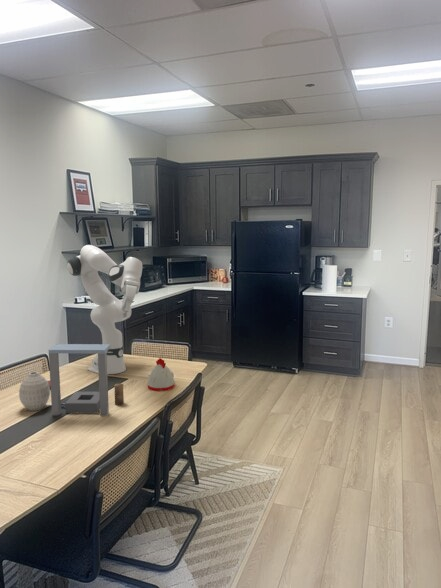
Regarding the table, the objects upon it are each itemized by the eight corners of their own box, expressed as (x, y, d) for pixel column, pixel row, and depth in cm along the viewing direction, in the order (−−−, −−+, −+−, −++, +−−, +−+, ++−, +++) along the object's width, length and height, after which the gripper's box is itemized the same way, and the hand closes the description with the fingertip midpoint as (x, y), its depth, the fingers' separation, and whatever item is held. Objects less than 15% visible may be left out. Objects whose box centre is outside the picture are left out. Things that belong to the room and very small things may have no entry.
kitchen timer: (156, 393, 216) (155, 364, 213) (142, 385, 226) (142, 357, 224) (179, 387, 224) (179, 359, 222) (165, 379, 235) (164, 353, 233)
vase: (21, 404, 200) (18, 370, 198) (50, 401, 205) (49, 367, 202) (19, 415, 189) (16, 379, 186) (50, 411, 193) (48, 375, 191)
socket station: (65, 400, 206) (62, 340, 201) (115, 400, 206) (113, 340, 201) (52, 415, 189) (48, 349, 185) (107, 415, 189) (104, 350, 185)
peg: (113, 404, 202) (112, 385, 200) (118, 401, 205) (118, 383, 204) (119, 405, 200) (119, 387, 198) (125, 402, 203) (124, 384, 202)
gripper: (121, 293, 221) (116, 319, 215) (126, 278, 202) (121, 306, 197) (133, 296, 222) (129, 321, 217) (139, 281, 204) (135, 308, 199)
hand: (125, 314), depth 207 cm, fingers open, 8 cm apart
